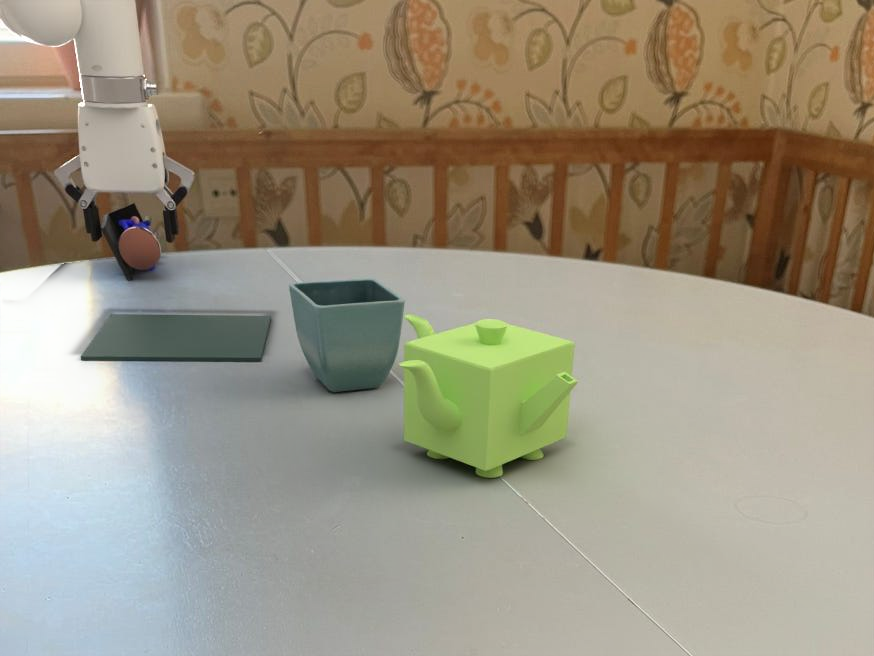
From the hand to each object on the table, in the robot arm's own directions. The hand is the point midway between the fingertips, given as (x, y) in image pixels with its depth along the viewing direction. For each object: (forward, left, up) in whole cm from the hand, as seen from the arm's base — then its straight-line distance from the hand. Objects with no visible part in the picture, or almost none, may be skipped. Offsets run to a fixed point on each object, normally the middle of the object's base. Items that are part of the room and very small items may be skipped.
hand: (134, 239), depth 137 cm
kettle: (+39, -64, -4) cm, 75 cm away
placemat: (+10, -31, -4) cm, 33 cm away
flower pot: (+28, -46, -4) cm, 54 cm away
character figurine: (0, 0, -4) cm, 4 cm away
